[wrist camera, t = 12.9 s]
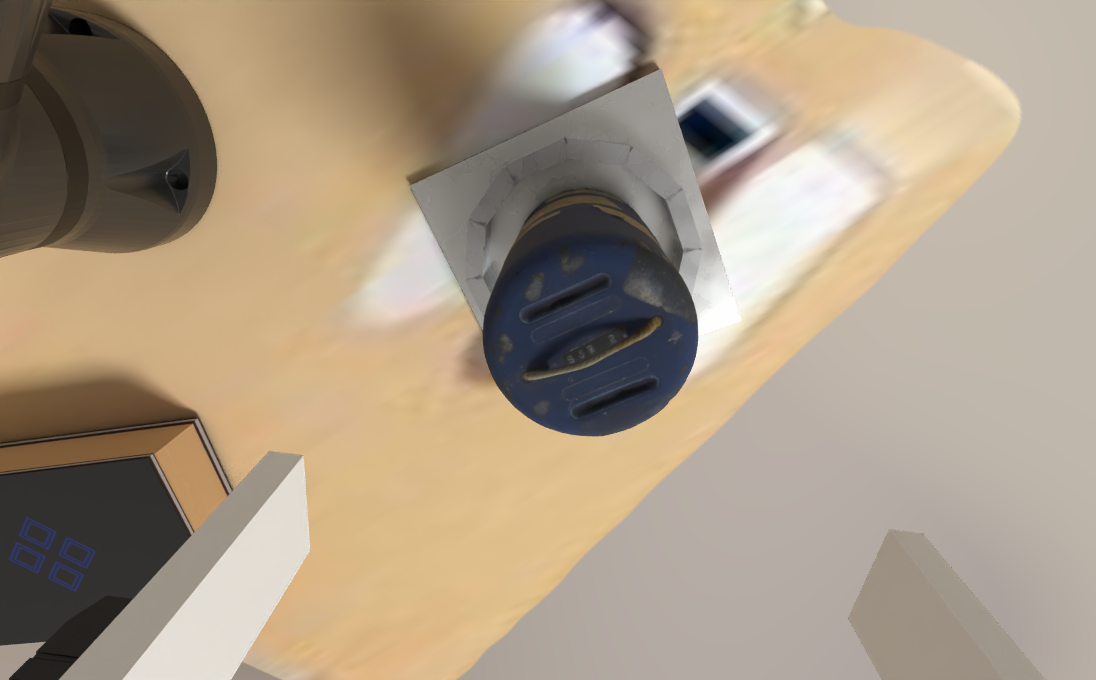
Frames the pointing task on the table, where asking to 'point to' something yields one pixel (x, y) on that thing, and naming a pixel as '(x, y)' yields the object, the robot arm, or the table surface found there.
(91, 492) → the book
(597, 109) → the flange
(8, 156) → the robot arm
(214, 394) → the table surface
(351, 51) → the table surface
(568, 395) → the canister
